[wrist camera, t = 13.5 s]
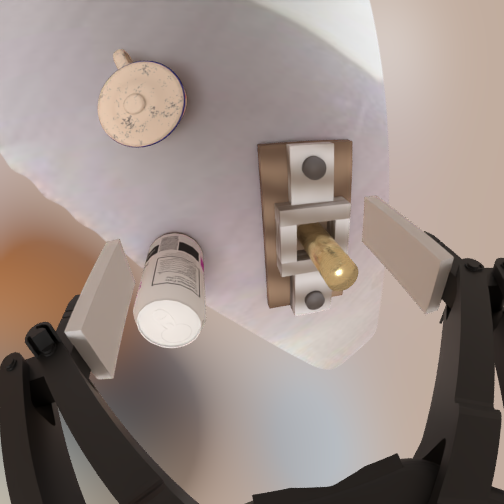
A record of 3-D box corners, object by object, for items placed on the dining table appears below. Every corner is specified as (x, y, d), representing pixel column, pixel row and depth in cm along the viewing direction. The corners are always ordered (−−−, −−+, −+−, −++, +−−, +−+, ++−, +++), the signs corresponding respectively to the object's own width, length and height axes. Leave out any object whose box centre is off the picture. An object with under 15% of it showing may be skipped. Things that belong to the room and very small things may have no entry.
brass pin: (291, 229, 42) (320, 275, 32) (314, 214, 42) (350, 255, 31) (304, 249, 44) (334, 297, 34) (326, 233, 44) (362, 277, 33)
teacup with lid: (200, 116, 34) (200, 122, 24) (138, 150, 35) (114, 170, 25) (161, 39, 28) (145, 15, 18) (99, 75, 29) (61, 69, 19)
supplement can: (213, 265, 45) (220, 335, 32) (167, 287, 46) (160, 359, 33) (185, 221, 41) (180, 282, 28) (138, 247, 42) (116, 314, 29)
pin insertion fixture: (257, 144, 37) (265, 151, 33) (347, 139, 39) (366, 146, 34) (267, 302, 50) (274, 324, 45) (339, 289, 51) (351, 308, 47)
